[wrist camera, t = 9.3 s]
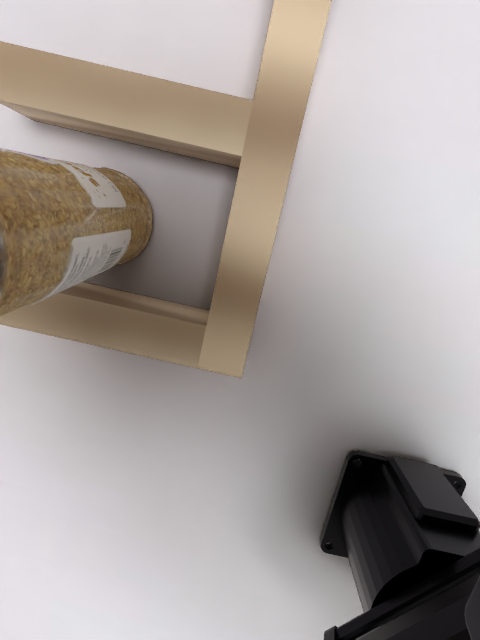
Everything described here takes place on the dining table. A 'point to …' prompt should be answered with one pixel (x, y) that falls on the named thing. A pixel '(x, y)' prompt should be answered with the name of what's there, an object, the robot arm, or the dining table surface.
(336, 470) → the dining table surface
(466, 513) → the robot arm
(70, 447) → the dining table surface
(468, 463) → the dining table surface
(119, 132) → the comb rack
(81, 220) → the sprinkles bottle
